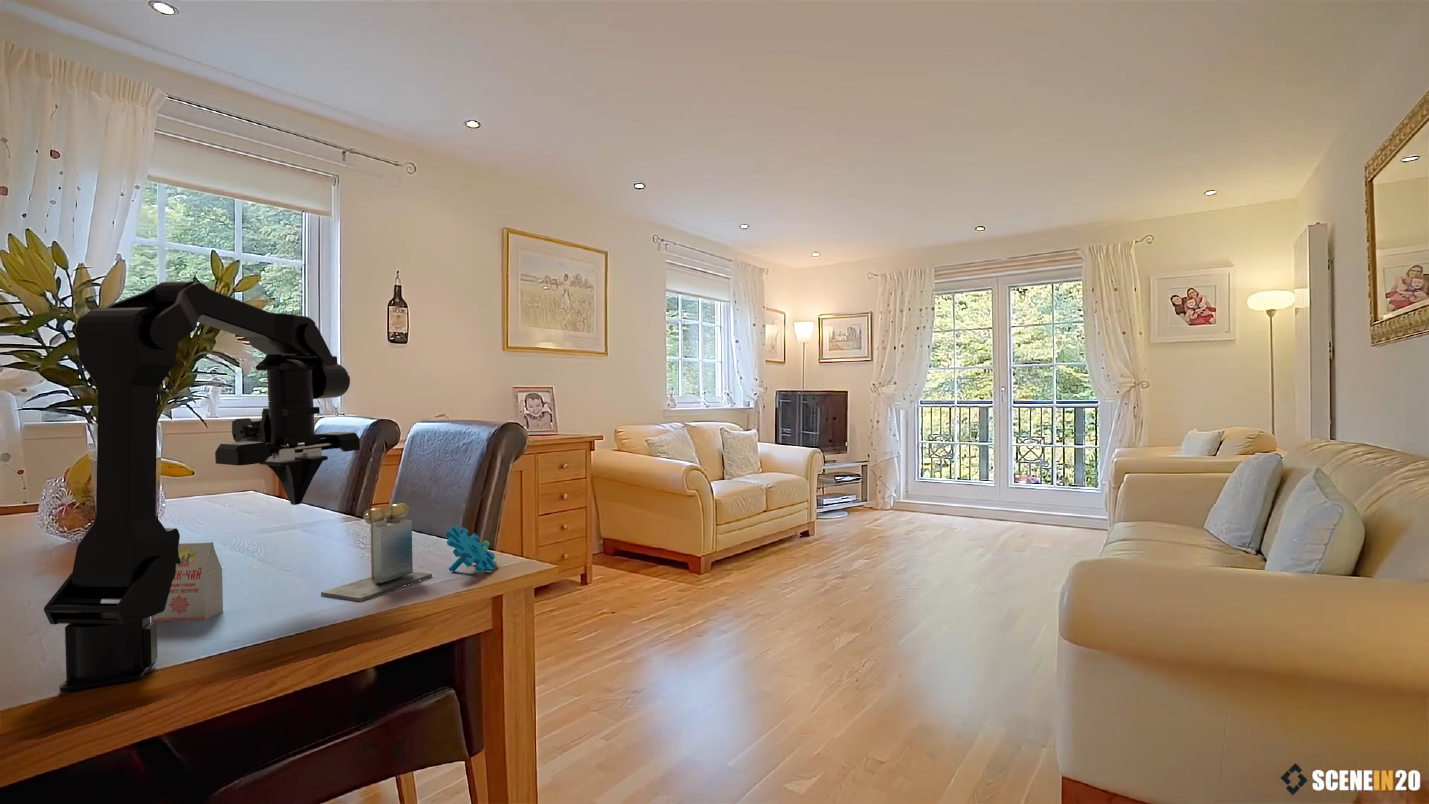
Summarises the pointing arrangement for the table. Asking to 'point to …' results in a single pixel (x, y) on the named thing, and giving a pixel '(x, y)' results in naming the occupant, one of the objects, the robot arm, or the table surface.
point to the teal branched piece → (469, 550)
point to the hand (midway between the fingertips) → (295, 504)
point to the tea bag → (194, 585)
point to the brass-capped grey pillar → (390, 546)
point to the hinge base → (367, 586)
